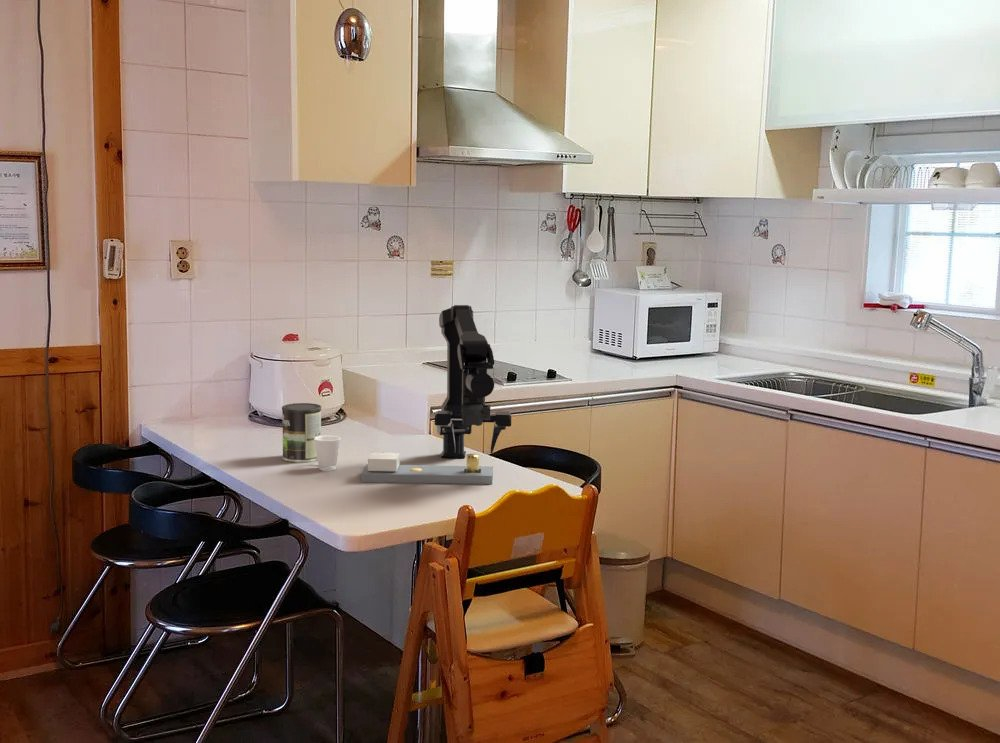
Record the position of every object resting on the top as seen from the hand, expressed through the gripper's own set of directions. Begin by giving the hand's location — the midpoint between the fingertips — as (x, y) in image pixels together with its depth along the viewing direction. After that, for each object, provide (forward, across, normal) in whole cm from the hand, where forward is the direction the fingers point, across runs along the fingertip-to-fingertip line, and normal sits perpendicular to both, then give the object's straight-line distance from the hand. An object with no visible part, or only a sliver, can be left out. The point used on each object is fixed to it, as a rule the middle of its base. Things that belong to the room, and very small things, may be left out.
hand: (472, 452), depth 254 cm
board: (+7, -11, 0) cm, 13 cm away
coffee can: (+7, -46, +19) cm, 50 cm away
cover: (+4, -22, 0) cm, 22 cm away
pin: (+7, 0, 0) cm, 7 cm away
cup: (+7, -38, +9) cm, 40 cm away
